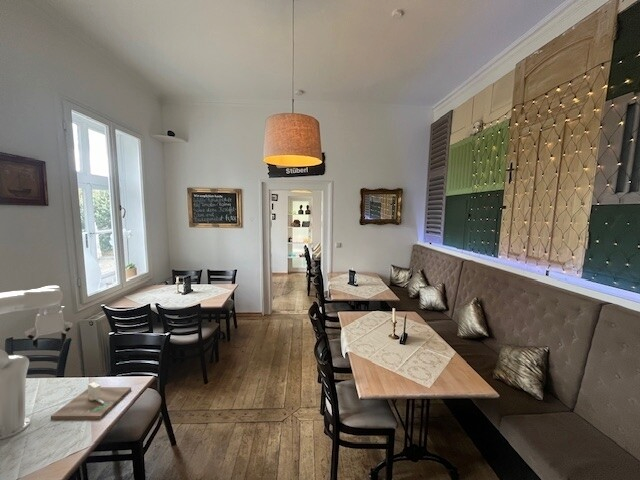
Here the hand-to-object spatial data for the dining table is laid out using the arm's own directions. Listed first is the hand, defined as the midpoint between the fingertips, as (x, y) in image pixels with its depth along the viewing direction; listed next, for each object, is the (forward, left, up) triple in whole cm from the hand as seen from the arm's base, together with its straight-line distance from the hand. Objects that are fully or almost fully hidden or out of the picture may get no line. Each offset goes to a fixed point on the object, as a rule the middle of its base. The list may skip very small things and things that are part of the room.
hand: (49, 343), depth 136 cm
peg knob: (-7, -28, -24) cm, 38 cm away
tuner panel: (-7, -27, -26) cm, 38 cm away
